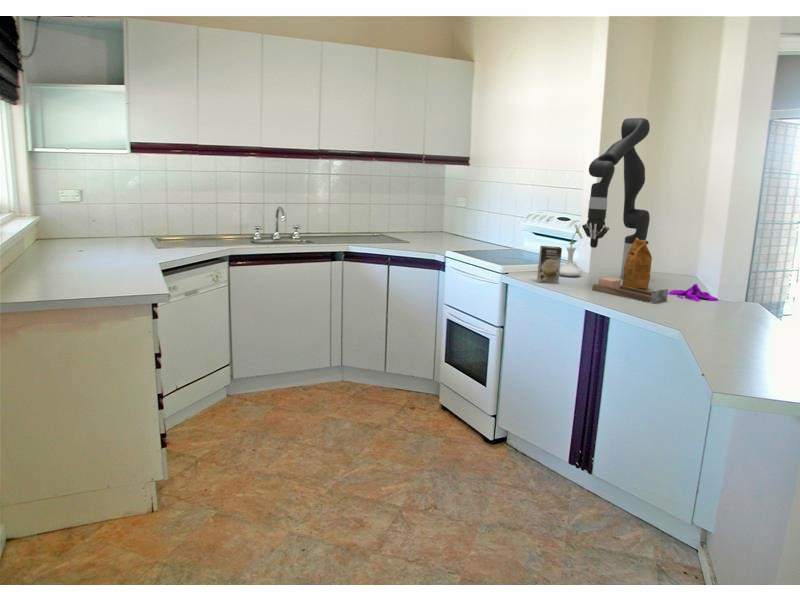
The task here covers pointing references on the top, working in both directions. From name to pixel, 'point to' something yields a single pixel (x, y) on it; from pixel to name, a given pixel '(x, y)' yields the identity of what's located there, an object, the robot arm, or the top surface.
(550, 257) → the coffee box
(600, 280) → the block
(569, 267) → the flower in vase
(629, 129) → the robot arm
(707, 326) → the top surface
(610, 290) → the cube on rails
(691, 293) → the cloth
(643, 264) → the coffee package
